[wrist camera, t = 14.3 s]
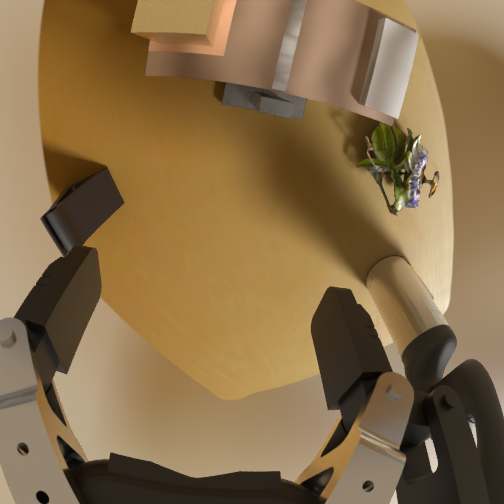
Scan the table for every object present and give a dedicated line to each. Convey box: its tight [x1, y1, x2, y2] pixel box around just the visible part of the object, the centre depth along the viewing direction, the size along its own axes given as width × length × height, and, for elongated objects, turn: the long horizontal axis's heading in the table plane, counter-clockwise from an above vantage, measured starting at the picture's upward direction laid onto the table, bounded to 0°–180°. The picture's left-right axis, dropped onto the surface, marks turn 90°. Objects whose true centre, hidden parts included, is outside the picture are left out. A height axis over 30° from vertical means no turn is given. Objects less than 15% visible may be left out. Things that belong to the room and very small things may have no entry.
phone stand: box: [41, 168, 124, 257], centre depth 33 cm, size 9×6×12 cm, turn 106°
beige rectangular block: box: [131, 0, 224, 47], centre depth 15 cm, size 5×5×8 cm
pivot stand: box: [222, 82, 307, 119], centre depth 24 cm, size 10×18×11 cm, turn 169°
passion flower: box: [356, 122, 439, 216], centre depth 35 cm, size 11×11×12 cm
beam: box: [145, 0, 419, 126], centre depth 20 cm, size 25×12×4 cm, turn 79°
